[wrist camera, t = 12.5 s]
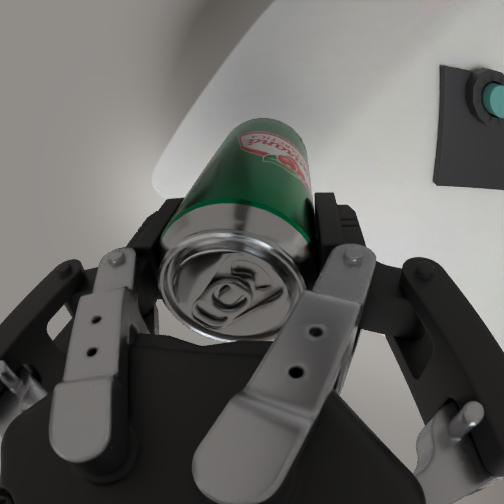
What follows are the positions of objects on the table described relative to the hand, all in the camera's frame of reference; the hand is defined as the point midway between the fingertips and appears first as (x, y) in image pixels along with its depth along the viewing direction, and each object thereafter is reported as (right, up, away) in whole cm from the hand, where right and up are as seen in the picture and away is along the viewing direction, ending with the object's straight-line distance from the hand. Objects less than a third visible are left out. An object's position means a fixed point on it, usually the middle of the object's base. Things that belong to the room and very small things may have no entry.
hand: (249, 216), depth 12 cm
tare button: (+26, +15, +10) cm, 31 cm away
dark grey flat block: (+26, +13, +14) cm, 33 cm away
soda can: (+1, +4, +6) cm, 8 cm away
